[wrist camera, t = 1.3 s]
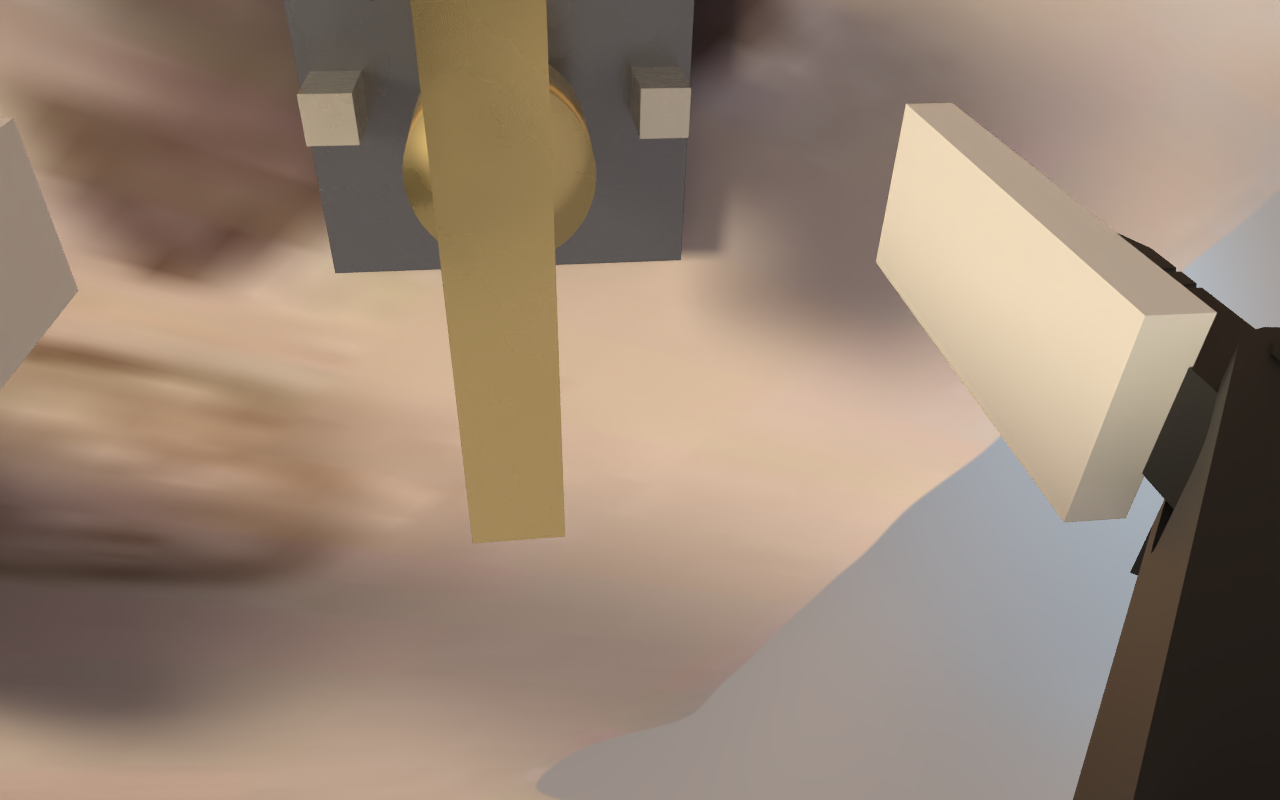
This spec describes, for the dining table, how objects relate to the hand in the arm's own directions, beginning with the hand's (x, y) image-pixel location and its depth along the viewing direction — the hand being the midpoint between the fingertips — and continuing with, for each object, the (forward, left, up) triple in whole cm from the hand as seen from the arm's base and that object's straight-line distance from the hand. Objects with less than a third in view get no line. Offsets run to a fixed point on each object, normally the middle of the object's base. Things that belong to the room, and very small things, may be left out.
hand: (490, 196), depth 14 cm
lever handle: (0, -6, -20) cm, 21 cm away
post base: (0, -6, -27) cm, 28 cm away
